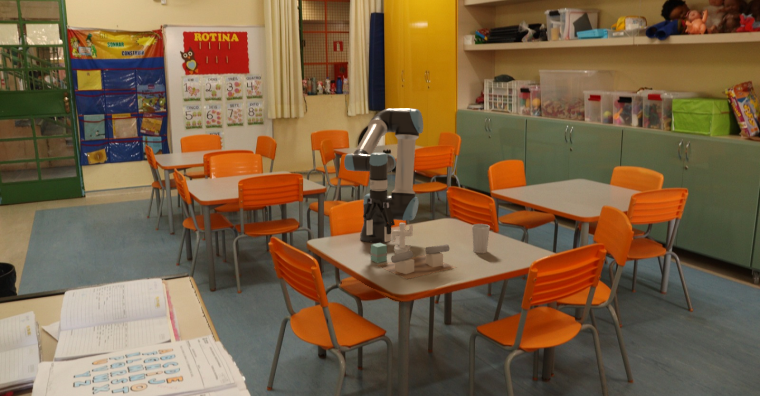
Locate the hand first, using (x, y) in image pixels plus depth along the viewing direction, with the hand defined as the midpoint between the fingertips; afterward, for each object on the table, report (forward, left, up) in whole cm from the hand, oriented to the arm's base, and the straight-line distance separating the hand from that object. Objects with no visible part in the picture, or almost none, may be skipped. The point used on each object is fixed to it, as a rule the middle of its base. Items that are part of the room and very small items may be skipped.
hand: (378, 237), depth 268 cm
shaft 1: (+18, -1, -10) cm, 21 cm away
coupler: (0, 0, -11) cm, 11 cm away
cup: (+13, +48, -11) cm, 51 cm away
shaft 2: (+18, +18, -10) cm, 27 cm away
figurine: (-3, +15, -11) cm, 19 cm away
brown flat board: (+16, +8, -11) cm, 21 cm away
